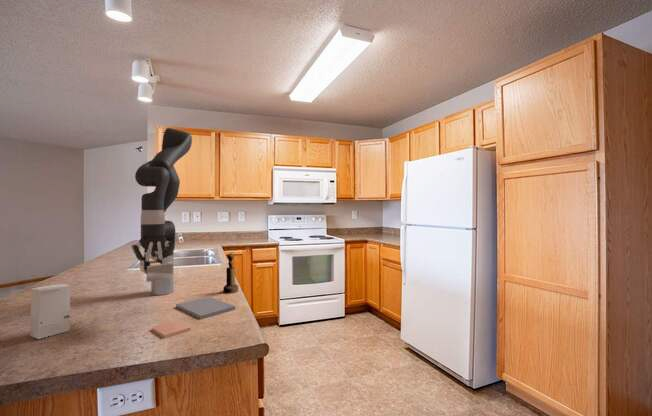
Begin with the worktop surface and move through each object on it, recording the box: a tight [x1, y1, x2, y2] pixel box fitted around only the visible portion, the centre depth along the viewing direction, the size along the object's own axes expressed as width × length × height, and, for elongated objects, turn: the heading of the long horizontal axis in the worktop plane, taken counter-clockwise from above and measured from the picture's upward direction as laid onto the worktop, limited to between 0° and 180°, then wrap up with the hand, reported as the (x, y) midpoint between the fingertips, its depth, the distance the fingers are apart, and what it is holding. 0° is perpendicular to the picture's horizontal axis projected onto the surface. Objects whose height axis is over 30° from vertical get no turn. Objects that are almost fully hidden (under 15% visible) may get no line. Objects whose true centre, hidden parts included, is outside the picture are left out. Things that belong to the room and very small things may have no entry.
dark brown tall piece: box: [223, 252, 239, 294], centre depth 146 cm, size 7×6×18 cm
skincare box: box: [29, 283, 71, 340], centre depth 98 cm, size 8×6×15 cm
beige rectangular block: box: [139, 257, 174, 283], centre depth 112 cm, size 15×8×5 cm, turn 49°
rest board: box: [175, 296, 236, 320], centre depth 122 cm, size 20×14×1 cm
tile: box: [151, 319, 191, 339], centre depth 101 cm, size 1×8×10 cm
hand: (152, 270), depth 111 cm, fingers closed on beige rectangular block, 3 cm apart
